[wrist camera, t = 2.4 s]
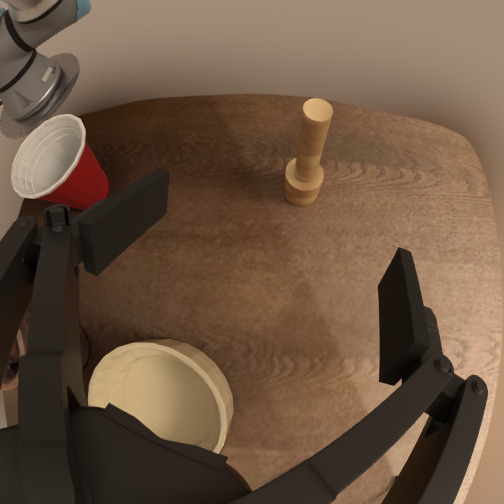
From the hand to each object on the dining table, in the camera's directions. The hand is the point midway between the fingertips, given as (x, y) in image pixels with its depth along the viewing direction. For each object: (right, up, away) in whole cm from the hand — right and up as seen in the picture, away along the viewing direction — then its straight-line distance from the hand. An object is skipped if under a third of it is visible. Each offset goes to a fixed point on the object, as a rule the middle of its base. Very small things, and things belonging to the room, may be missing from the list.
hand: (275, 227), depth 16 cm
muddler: (+5, +6, +20) cm, 21 cm away
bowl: (-11, -19, +16) cm, 27 cm away
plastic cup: (-23, +7, +22) cm, 32 cm away
